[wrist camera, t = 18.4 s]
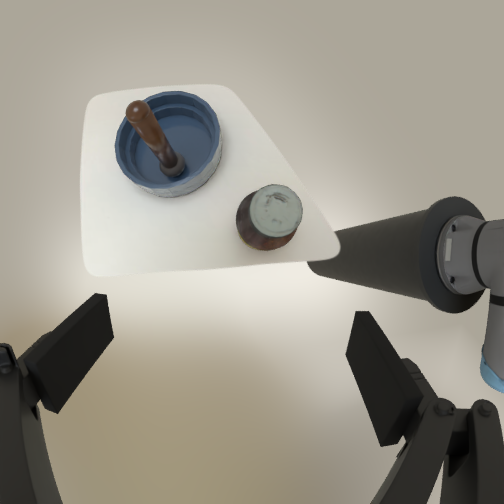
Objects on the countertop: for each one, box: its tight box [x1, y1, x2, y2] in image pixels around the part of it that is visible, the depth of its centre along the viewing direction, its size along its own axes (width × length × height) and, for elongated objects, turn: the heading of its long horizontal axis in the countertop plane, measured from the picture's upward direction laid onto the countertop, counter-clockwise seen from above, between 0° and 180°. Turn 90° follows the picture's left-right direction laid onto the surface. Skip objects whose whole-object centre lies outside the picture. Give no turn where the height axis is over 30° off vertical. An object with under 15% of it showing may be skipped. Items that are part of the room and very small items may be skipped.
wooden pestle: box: [126, 100, 185, 177], centre depth 30 cm, size 4×4×19 cm
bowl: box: [115, 91, 222, 197], centre depth 38 cm, size 14×14×6 cm
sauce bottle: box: [236, 184, 302, 251], centre depth 31 cm, size 7×6×20 cm
